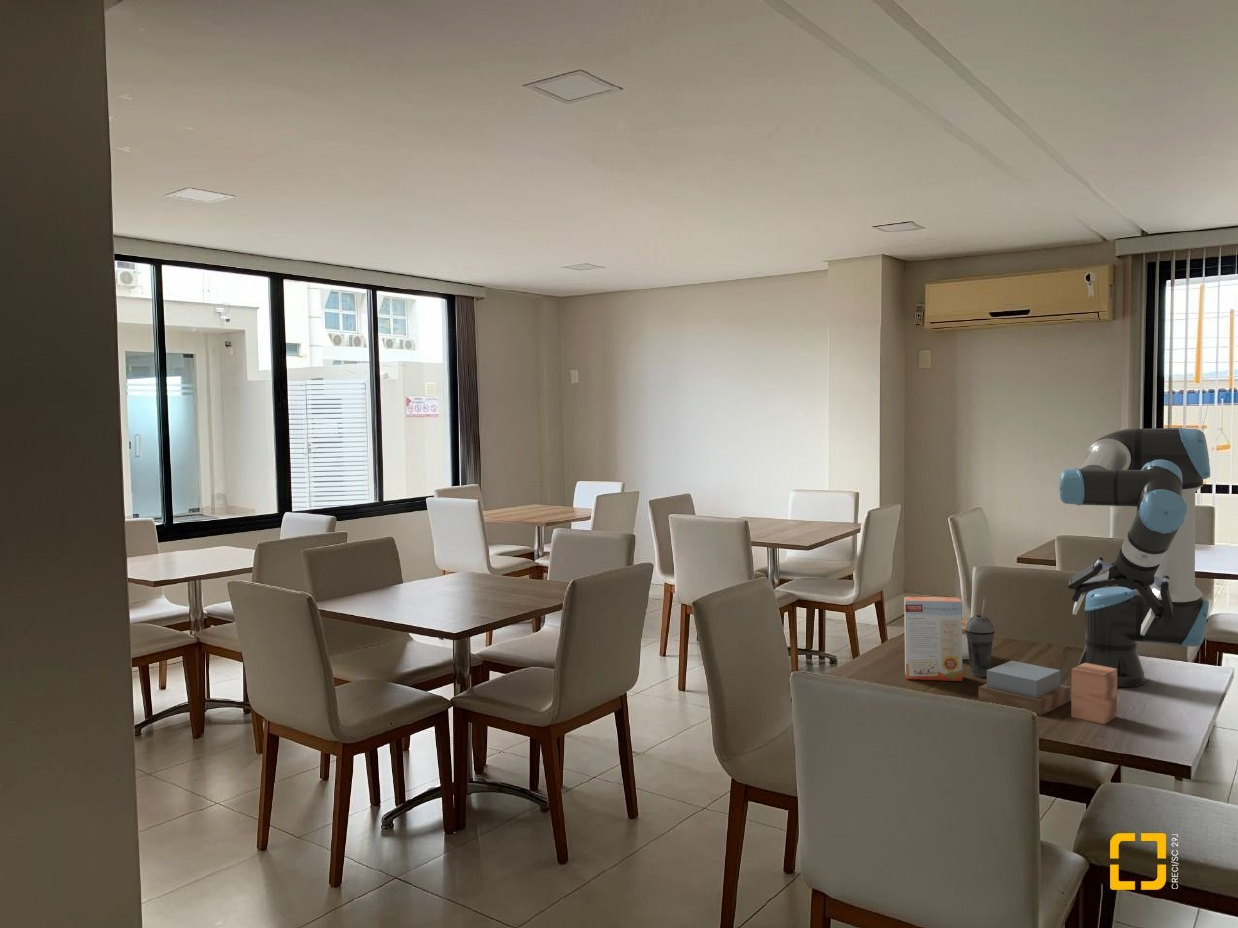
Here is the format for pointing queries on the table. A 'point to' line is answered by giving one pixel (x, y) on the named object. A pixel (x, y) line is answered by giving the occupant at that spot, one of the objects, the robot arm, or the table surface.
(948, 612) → the cracker box
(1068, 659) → the table surface
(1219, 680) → the table surface
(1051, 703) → the walnut base slab
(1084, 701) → the terracotta pillar block
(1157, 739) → the table surface
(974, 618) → the beverage cup
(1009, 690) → the slate top tile
